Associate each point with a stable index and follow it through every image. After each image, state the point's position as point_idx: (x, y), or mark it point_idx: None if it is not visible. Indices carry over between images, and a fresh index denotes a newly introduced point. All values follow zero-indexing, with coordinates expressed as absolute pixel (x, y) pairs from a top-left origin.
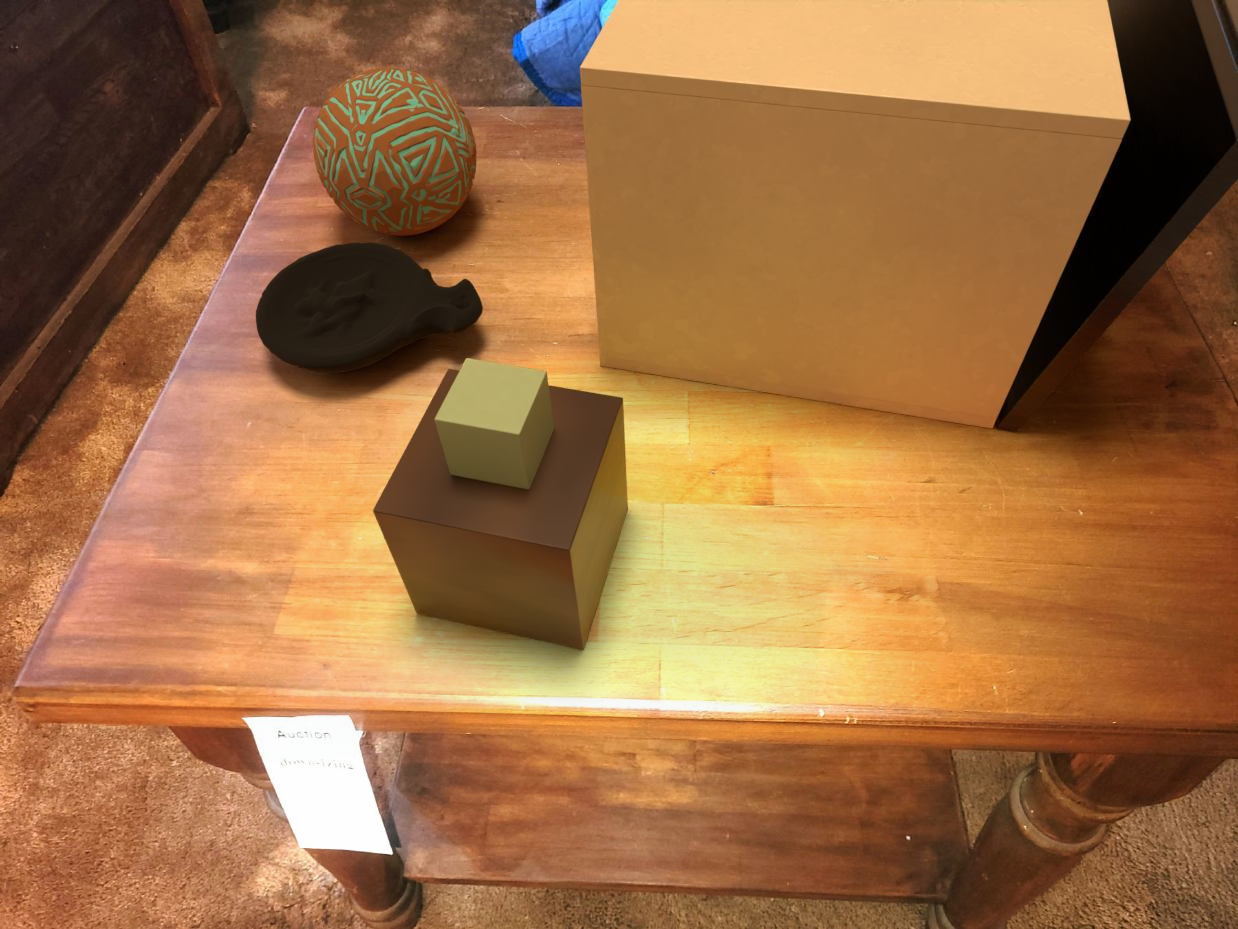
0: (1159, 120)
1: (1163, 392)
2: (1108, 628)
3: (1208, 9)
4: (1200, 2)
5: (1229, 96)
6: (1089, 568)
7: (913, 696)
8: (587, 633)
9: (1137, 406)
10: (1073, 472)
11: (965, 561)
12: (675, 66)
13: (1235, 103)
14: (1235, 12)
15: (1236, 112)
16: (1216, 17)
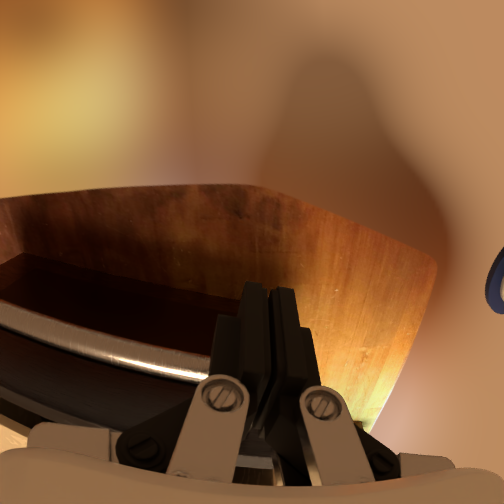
0: None
1: (245, 221)
2: (397, 293)
3: (84, 425)
4: (75, 425)
5: (244, 464)
6: (368, 293)
7: (403, 355)
8: (357, 423)
9: (258, 240)
10: (310, 287)
11: (354, 337)
12: None
13: (254, 463)
14: (4, 326)
15: (269, 465)
16: (94, 424)
